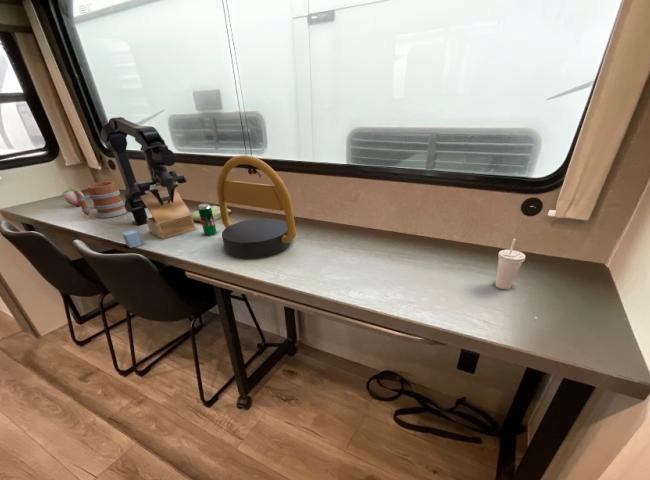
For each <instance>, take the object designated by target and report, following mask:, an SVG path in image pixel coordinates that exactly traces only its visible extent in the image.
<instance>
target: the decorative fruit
mask: <svg viewBox="0 0 650 480" xmlns="http://www.w3.org/2000/svg"><path fill="white" fill-rule="evenodd" d="M76 190H77V191H78V192H79V193H80V194H81V195H82V196H83V197H85V195H84V193H83V190H82V189H79V188H74V189H72V188H71V187H70V188H69V190H65V191H63V192H62V194H61V195H63V197H64V200H65V201H66V203H67V204H69V205H71V206H75V207H81V205H80V203H79V201H78V200H77V196H76V194H75V193H74V191H76Z"/></svg>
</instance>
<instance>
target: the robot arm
mask: <svg viewBox="0 0 650 480" xmlns="http://www.w3.org/2000/svg"><path fill="white" fill-rule="evenodd" d="M128 136H130V137H133V138H134V141H135V142H136V143H138V145H140V149H139V150H140V151H141V152H143V155H144V158H145V162H146V165H147V167H146V168H147V171H149V175H150V180H151V181H146V180H140V181H137V179H136V177H135V173H134V170H133V168H132V165H131V162H130V159H129V156H128V153H127V147H128V140H127V137H128ZM100 137H101V139H102V141H103V142H104V145H105V147H107V148H108V149H109V150H110V151H111V152H112V154H113V156H114V159H115V161H116V164H117V167H118V169H119V173H120V175H121V178H122V181H123V183H124V186H125V191H124V194H123V195H124V199H125V202H124V205H123V206H124V207H125V209H126V211H127V212H128V213H131V214H132V217H133V221H132V223H133V224H134V225H136V226H140V225H144V224H148V223H147V220H146V219H147V218H149V217H148V215H147V211H146V209H148V208H147V207H146V205H145V204H144V202H143V200H142V199H141V197H140V196H143V195H147V194H146V192H150V194H153V195H154V196H155V198H156V199H157V200H158V202H159V203H160V204H161V205H163V204H162V200H161V198H160V195H159V192H160V191H159V188H157V186H161V187H162V188H166V190H168V194H169V196H170V197H171V202H172V203H173V200H174V191H175V189H176V188H177V187H179V184H181V185H182V184H185V183H187V182H188V181H187V178H186V176H185V175H184V174H181V173H177V172H176V171H175V170H170V171H168V169H167V167H172V166H174V165H175V163H176V160H177V157H176V155H175V152H174V151H173V150H171V149H169V146H168V145H167V144H166V141H165V140H164V139H163V137H162V136H161V134H160V133H159V131H158V130H157V128H155V127H154V126H153V125H151V126H150V125H139V124H137V123H135V122H132V121H130V120H128V119H125V118H124V117H122V116H119V117H118V116H116V117H111V118H109V119H108V122H107V123H106V124H105V125H103V126H102V128H101V131H100Z"/></svg>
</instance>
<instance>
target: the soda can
mask: <svg viewBox="0 0 650 480" xmlns="http://www.w3.org/2000/svg"><path fill="white" fill-rule="evenodd" d="M211 206H212V205H211V204H210V203H200V204H199V205H198V207H197V211H199V215H200V219H201V222H200V223H201V227H202V231H203V234H204V235H205V236H213V235H215V234H216V233H217V227H216V222H215V220H214V218H213V214H212V209H211Z"/></svg>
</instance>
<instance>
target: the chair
mask: <svg viewBox="0 0 650 480" xmlns="http://www.w3.org/2000/svg"><path fill="white" fill-rule="evenodd" d="M239 165H249V166H252V167H255V168H256V169H259V170H260V171H261V172H262V173H263V174H265V175H266V176H267V177H268V178H269V179H270V181H271V182H272V183H273V184H266V183H258V182H248V181H239V180H229V179H228V177H229V174H230V173H231V171H232V170H233V168H234V169H235V167H237V166H239ZM216 194H217V201H218V207H220V212H221V217H220V219H221V221H222V224H223V226H224V227H225V228H224V229H223V230H222V231H221V238H222V242H223V247H224V251H225V253H226V254H227V255H228V256H230V257H232V258H234V259H242V260H257V259H258V260H259V259H264V258H268V257H269V258H270V257H272V256H275V255H278V254H280V253H282V252H285V251H286V250H287V249H288V248H289V247H290V245H291V243H292V242H293V241H294V239H295V237H296V236H297V232H296V230H297V229H296V223H295V216H294V210H293V203H292V199H291V198H292V197H291V196H290V193H289V190H288V188H287V186H286V184H285V183H284V181H283V180H282V178H281V177H280V175H279V174H278V173H277V172H276V171H275V170H274V169H273V168H272V167H271V166H270V165H269V164H267V163H266V162H265V161H263V160H261V159H259V158H257V157H255V156H252V155H237V156H234V157H232V158H230V159H228V160H227V161H226V162H225V164H224V165H223V166H222V169H221V170H220V173H219V175H218V178H217V183H216ZM227 203H228V204H234V205H239V206H240V205H241V206H247V207H254V208H260V209H266V210H272V211H279V212H282V211H283V212H284V216H285V221H284V220H280V219H276V218H254V219H253V218H252V219H248V220H242V221H239V222H235V223H232V222H231V220H230V218H229V213H228V211H227V209H228V206H227Z"/></svg>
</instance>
